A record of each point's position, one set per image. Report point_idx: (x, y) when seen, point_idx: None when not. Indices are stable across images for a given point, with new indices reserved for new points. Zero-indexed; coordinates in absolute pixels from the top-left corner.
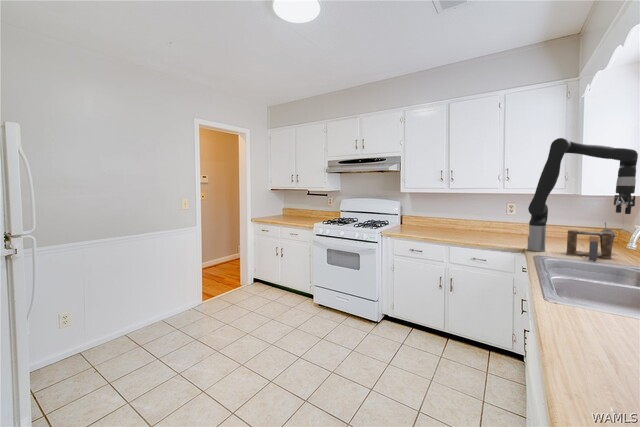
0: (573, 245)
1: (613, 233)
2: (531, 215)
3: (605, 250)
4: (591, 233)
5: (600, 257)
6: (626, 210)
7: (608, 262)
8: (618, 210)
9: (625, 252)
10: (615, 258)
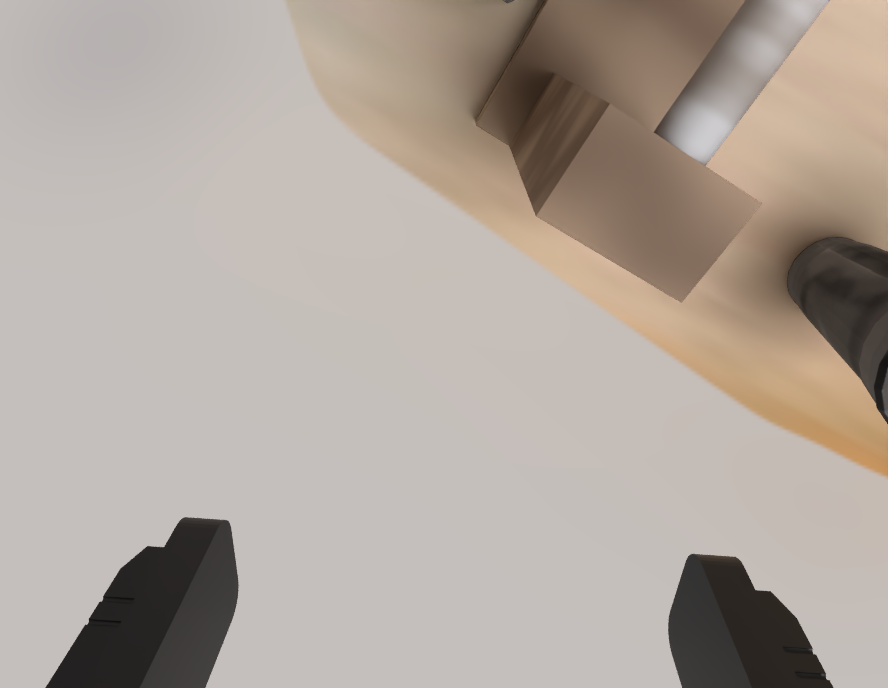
0: None
1: None
2: None
3: (541, 110)
4: None
5: (520, 45)
6: (135, 614)
7: (305, 7)
8: (704, 647)
9: (859, 458)
10: None
